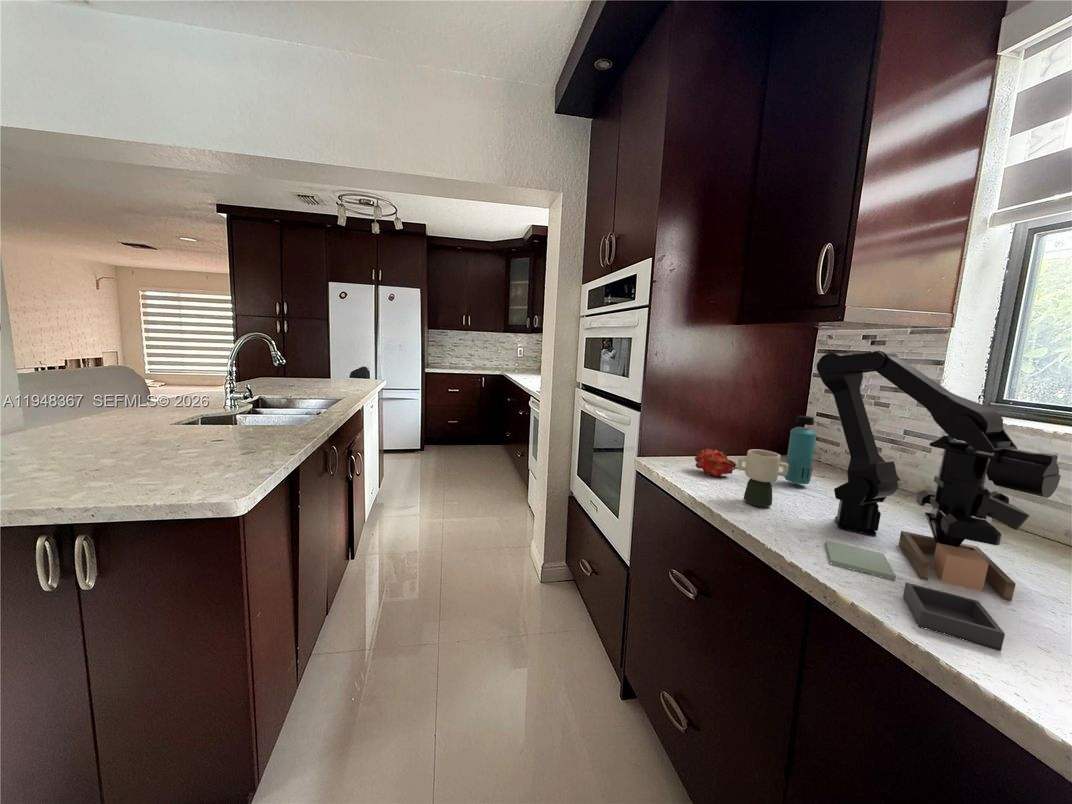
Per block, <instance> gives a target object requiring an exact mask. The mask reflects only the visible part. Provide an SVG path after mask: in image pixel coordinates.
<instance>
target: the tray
mask: <svg viewBox="0 0 1072 804" xmlns="http://www.w3.org/2000/svg"><path fill="white" fill-rule="evenodd" d="M903 597H904V598H903ZM902 598H903V600H904V602H905V603H906V606H907V605H908V606H907V608H908V607H909V608H908V610H909V609H910V610H909V612H910V611H911V612H910V614H911V613H912V614H911V615H913V616H912V617H914V618H913V619H914V621H915V623H916V625H917V624H918V625H917V627H918V626H919V627H918V628H920V627H923V628H922V629H924V628H927V629H930V630H929V631H931V630H933V631H932V632H934V631H937V632H941V633H945V634H948V635H951V636H954V637H953V638H955V637H957V638H956V639H958V638H961V639H960V640H962V639H964V640H963V641H965V640H967V641H966V642H968V641H970V642H969V643H973V644H976V645H979V646H983V647H986V648H990V649H992V650H993V649H994V650H997V651H1000V652H1001V651H1002V648H1003V644H1004V640H1005V636H1006V633H1005V632H1004V630H1003V629H1002V628H1001V627H1000V626H999V624H998V623H997V622H996V620H995V619H994V618H993V617H992V615H990V613H989V612H988V611H987V610H986V608H985V607H984V606H983V604H982V603H981V602H980V600H977V599H973V598H971V597H970V598H969V597H965V596H961V595H957V594H953V593H949V592H946V591H945V592H944V591H941V590H937V589H934V588H931V587H930V588H929V587H925V586H922V585H917V584H915V583H914V584H913V583H909V582H905V584H904V589H903V594H902ZM927 629H926V630H927ZM937 632H936V633H937ZM941 633H940V634H941ZM948 635H947V636H948ZM951 636H950V637H951Z"/></svg>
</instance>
